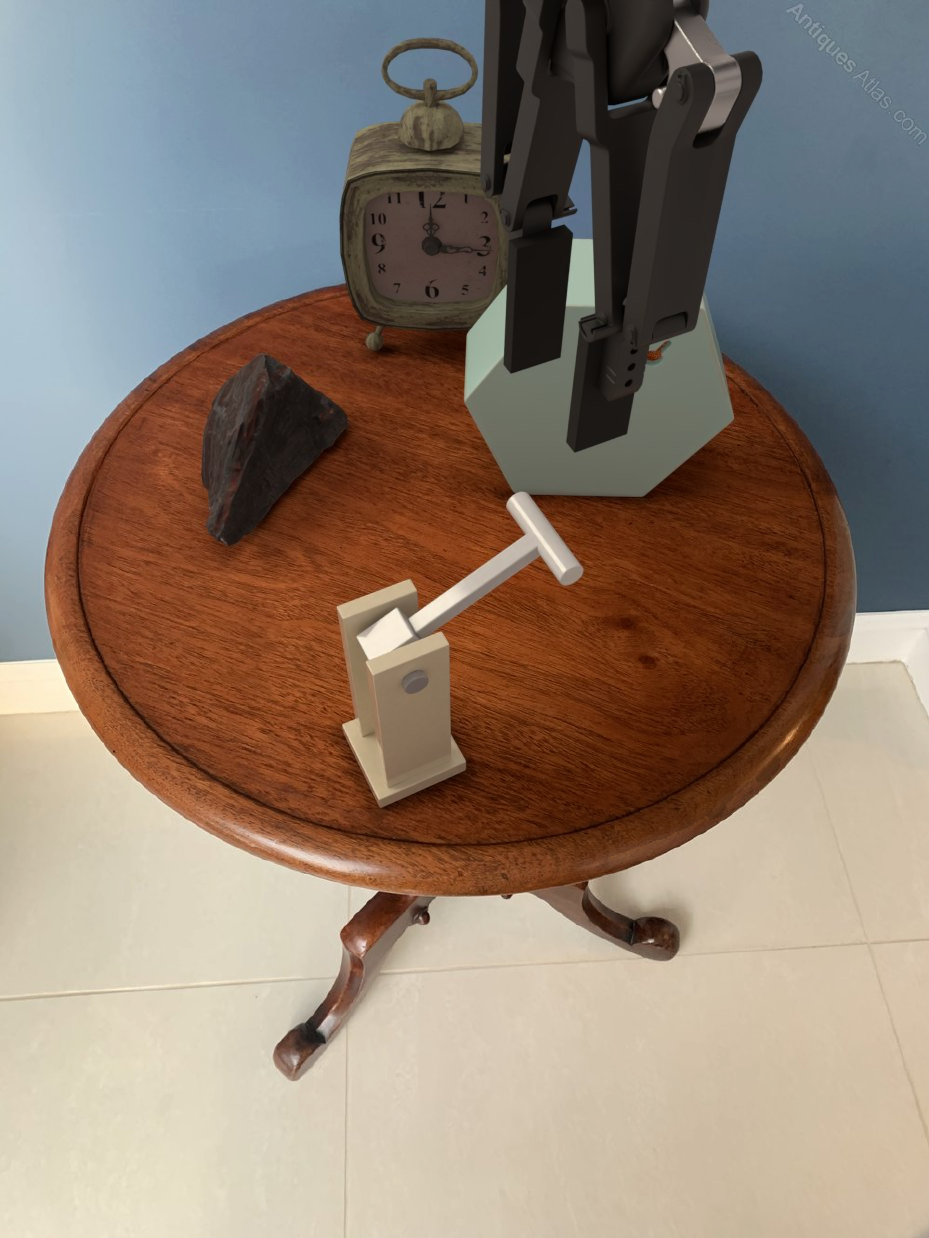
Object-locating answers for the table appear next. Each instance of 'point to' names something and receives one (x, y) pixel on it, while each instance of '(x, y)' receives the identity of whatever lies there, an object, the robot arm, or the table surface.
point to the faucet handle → (479, 581)
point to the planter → (541, 396)
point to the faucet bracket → (398, 701)
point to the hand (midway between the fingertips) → (563, 397)
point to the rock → (261, 443)
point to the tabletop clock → (421, 214)
